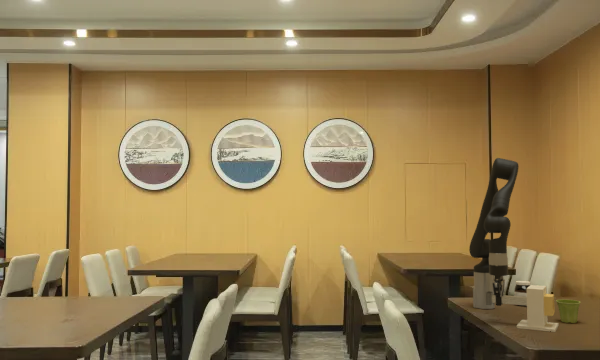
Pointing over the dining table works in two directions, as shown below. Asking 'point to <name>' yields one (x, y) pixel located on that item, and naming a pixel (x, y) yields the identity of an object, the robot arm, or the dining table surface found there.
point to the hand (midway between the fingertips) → (499, 304)
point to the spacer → (549, 305)
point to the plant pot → (568, 310)
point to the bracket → (536, 311)
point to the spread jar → (521, 289)
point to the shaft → (505, 299)
